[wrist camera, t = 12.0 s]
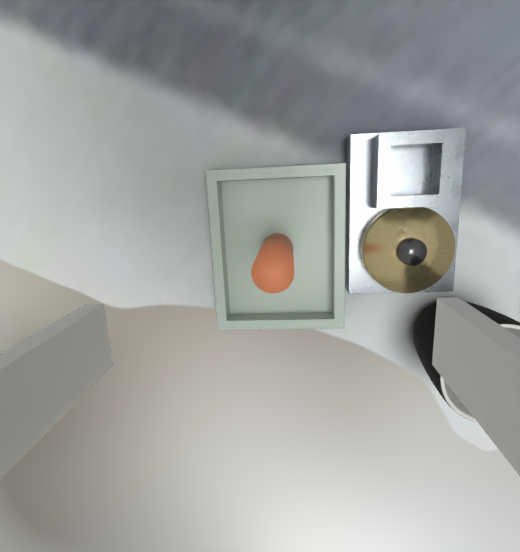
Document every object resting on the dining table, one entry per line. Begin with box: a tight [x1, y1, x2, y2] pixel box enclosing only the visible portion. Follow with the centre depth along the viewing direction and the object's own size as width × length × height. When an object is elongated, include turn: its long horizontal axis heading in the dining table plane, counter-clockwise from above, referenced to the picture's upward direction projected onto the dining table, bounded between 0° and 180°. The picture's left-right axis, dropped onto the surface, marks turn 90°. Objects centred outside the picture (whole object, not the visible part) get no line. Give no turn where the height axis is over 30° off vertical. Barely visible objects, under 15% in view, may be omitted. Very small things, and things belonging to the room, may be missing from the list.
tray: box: [205, 163, 346, 330], centre depth 36 cm, size 16×13×3 cm
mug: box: [414, 302, 520, 422], centre depth 34 cm, size 12×9×10 cm
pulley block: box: [345, 128, 466, 294], centre depth 33 cm, size 15×10×6 cm, turn 2°
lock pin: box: [251, 233, 294, 294], centre depth 32 cm, size 3×3×11 cm
